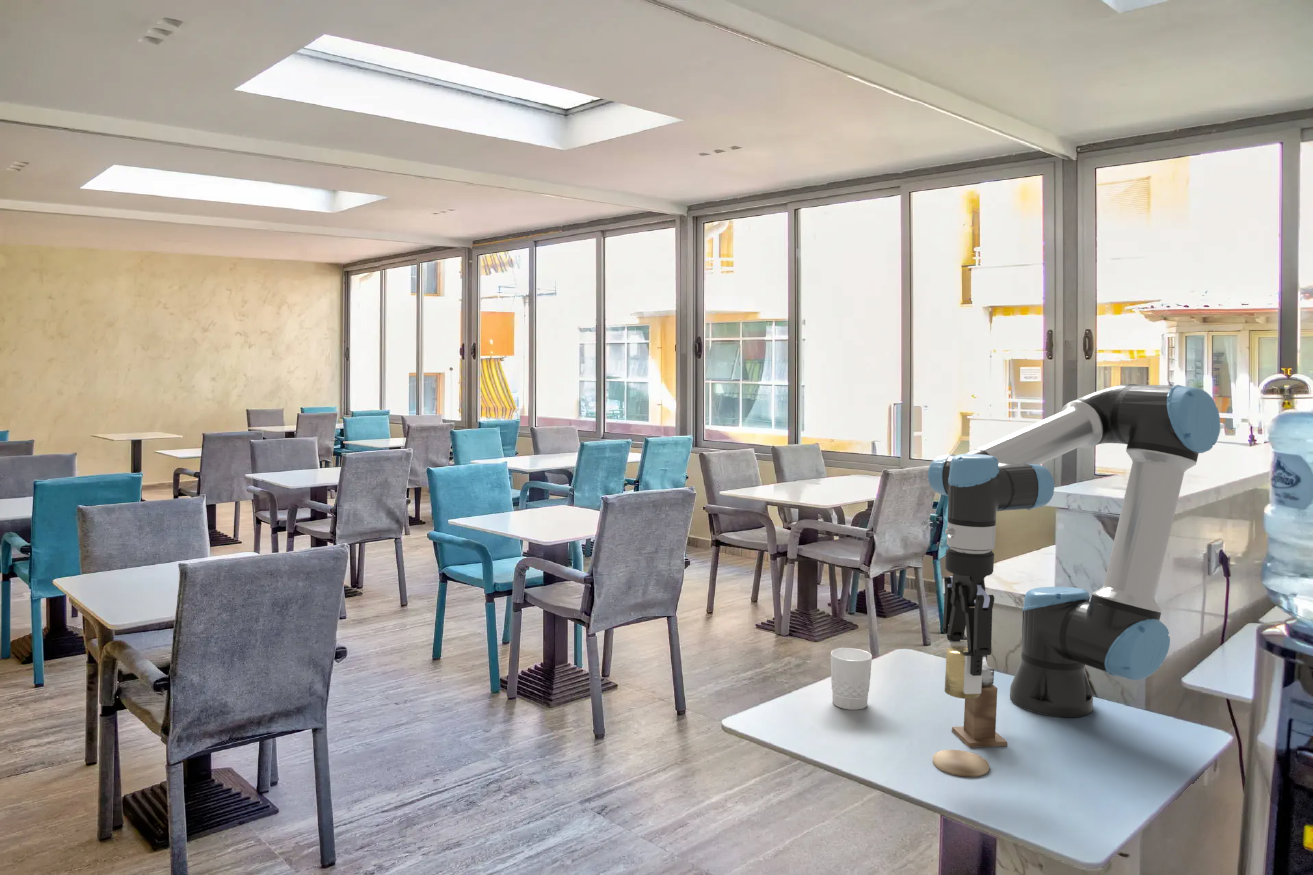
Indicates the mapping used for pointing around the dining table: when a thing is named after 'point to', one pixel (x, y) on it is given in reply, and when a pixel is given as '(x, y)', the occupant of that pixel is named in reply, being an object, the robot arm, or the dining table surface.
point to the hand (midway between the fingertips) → (963, 685)
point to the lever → (987, 673)
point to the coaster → (960, 763)
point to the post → (980, 720)
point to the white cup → (850, 677)
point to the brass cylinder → (956, 673)
